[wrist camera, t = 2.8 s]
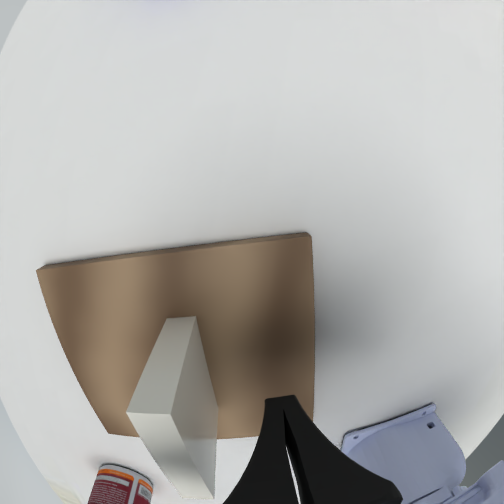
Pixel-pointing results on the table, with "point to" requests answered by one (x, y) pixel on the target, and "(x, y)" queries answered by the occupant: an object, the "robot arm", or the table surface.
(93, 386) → the board
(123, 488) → the pill bottle
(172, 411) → the tile
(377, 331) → the table surface
